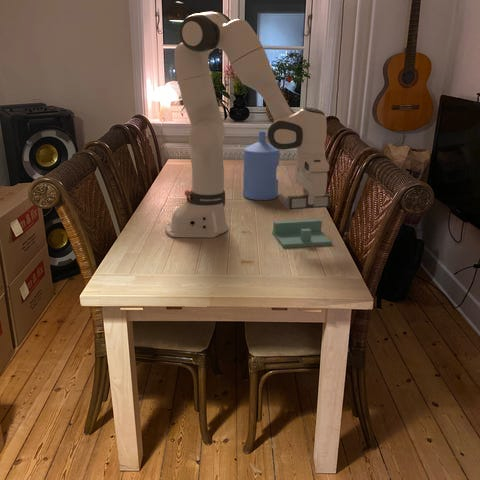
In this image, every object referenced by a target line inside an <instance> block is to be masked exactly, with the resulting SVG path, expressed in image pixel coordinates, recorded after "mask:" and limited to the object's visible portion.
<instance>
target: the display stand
mask: <svg viewBox="0 0 480 480" xmlns="http://www.w3.org/2000/svg"><path fill="white" fill-rule="evenodd" d="M272 223H273V225H272V226H273V227H272V228H273V229H272V234H271V235H273V237H274V238H275V239H276V241H277V242H278V244H280V246H281V247H282V248H283V249H287V248H289V249H290V248H302V247H303V248H304V247H318V246H321V247H322V246H332V244H333V242H332V241H333V240H331V239H330V238H329V237H328V236H327V235H326V234H325V233H324V232H323V231H322V225H323V224H322V223H323V220H322V219H320V218H312V219H311V218H310V219H294V220H293V219H291V220H275V221H274V220H273V222H272Z"/></svg>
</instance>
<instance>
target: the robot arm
mask: <svg viewBox="0 0 480 480" xmlns="http://www.w3.org/2000/svg"><path fill="white" fill-rule="evenodd" d="M179 37H180V40H181V42H180V43H179V44H178V45H176V47H175V49H174V52H173V55H174V56H173V57H174V67H175V74H176V79H177V83H178V88H179V91H180V96H181V99H182V104H183V106H184V109H185V112H186V114H187V117H188V119H189V123H190V125H191V130H190V131H189V134H188V136H189V137H188V142H189V146H188V147H189V154H190V155H189V157H190V165H191V177H192V178H191V179H192V184H191V185H192V189H191V190H189V189H185V190H184V195H185V196H186V201H185V202H183V204H182V205H180V206H179V207H177V208H176V209H175V210H173V214H172V216H171V221H170V222H168V223H167V224H166V225H165V233H166V235H168V236H169V237H171V238H208V239H209V238H216V237H217V236H218V235H221V234H224V233H226V232H227V231H228V230H229V226H228V222H227V217H226V212H225V211H226V210H225V206H226V191H225V187H224V186H225V170H224V169H225V167H224V153H223V151H224V150H223V145H224V140H225V136H226V129H225V124H224V121H223V116H222V113H221V110H220V106H219V104H218V101H217V100H218V99H217V96H216V91H215V87H214V82H213V78H212V73H211V69H210V65H209V64H210V63H209V57H210V54H212V53H216V52H217V51H218V50H222V52H224V54H225V56H226V57H227V59H228V61H229V64H230V65H231V67H232V69H233V71H234V74H235V75H236V76H237V78H238V79H239V80H240V82H241V83H242V84H243V85H244V86H246V87H249V88H250V89H253V90H254V91H255V92H257V93H258V94H259V95H260V96H261V98H262V99H263V101H264V103H265V104H266V107H267V108H268V110H269V112H270V114H271V116H272V118H273V123H271V124H270V126H269V128H268V130H267V140H268V143H269V144H271V145H272V146H273V147H274V148H276V149H279V150H281V151H283V150H284V151H287V150H289V149H290V150H293V149H297V150H296V152H297V153H296V165H295V175H294V180H295V182H296V183H297V184H298V185H299V186H301V188H302V193H303V194H302V195H309V196H308V198H307V203H308V204H309V205H311V204H313V203H314V198H315V197H318V196H324V195H325V194H327V185H328V173H327V172H329V171H330V164H329V163H328V161H327V157H326V147H325V143H326V140H327V127H328V126H327V125H328V124H327V117H326V114H325V112H323V111H322V110H320V109H318V108H315V107H308V106H307V107H302V108H300V110H298V111H296V112H295V111H294V110H292V108H291V107H290V104H289V103H288V101H287V98H285V95H284V93H283V91H282V89H281V88H280V85H279V83H278V82H277V79H276V76H275V74H274V71H273V69H272V66H271V63H270V61H269V58H268V56H267V53H266V51H265V48H264V47H263V44H262V42H261V40H260V39H259V37H258V35H257V33H256V32H255V30H254V29H253V28H252V26H251V25H250V23H249V22H248V21H247V20H245V19H244V18H243V19H242V18H240V19H239V18H236V19H230V17H229V16H228V15H226V14H225V13H223V12H220V11H204V12H200V13H193V14H191V15H188V16H187V17H186V18H185V19H183V21H182V22H181V24H180V27H179Z"/></svg>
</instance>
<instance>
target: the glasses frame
mask: <svg viewBox="0 0 480 480" xmlns="http://www.w3.org/2000/svg"><path fill="white" fill-rule="evenodd" d="M308 196H309V195H304V194H300V195H299V194H298V195H297V194H296V195H287V198H286V197H285V196H284V195H283V194H282V193H281V194H280V193H278V196H277V200H279V201H280V203H282V204H283V205H284V206H285V207H286V208H287V209H288V210H300V209H303V210H304V209H317V208H318V209H320V208H330V207H331V196H332V195H331V194H330V193H325V195H324V196H318V197H315V198H314V203H313V204H311V205H309V204H308V203H307V198H308Z"/></svg>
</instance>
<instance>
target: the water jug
mask: <svg viewBox="0 0 480 480" xmlns="http://www.w3.org/2000/svg"><path fill="white" fill-rule="evenodd" d="M266 134H267V132H266V131H258V140H257V142H255V143H252V144H250V145H248V146H246V147H245V148H244V149H243V172H242V177H243V178H242V179H243V181H242V182H243V183H242V184H243V185H242V188H243V189H242V195H243V197H245V198H246V199H248V200H253V201H271V200H274V199H276V198H278V194H279V180H278V179H277V168H278V167H279V166H280V158H281V155H280V154H281V153H280V149H276V148H274V147H273V146H272V145H271V144H270V142H267V140H266V139H267V138H266V137H267V135H266Z"/></svg>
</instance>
